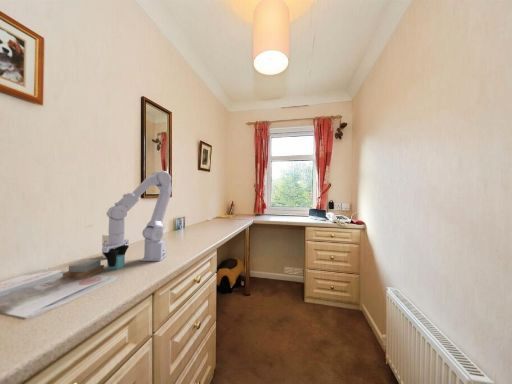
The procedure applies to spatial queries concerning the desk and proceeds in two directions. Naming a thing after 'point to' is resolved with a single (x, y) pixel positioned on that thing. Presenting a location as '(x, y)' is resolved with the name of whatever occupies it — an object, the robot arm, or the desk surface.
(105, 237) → the ink cartridge box
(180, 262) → the desk surface
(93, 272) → the walnut slab
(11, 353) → the desk surface
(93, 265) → the gray slab
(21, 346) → the desk surface
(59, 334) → the desk surface
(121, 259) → the teal block
